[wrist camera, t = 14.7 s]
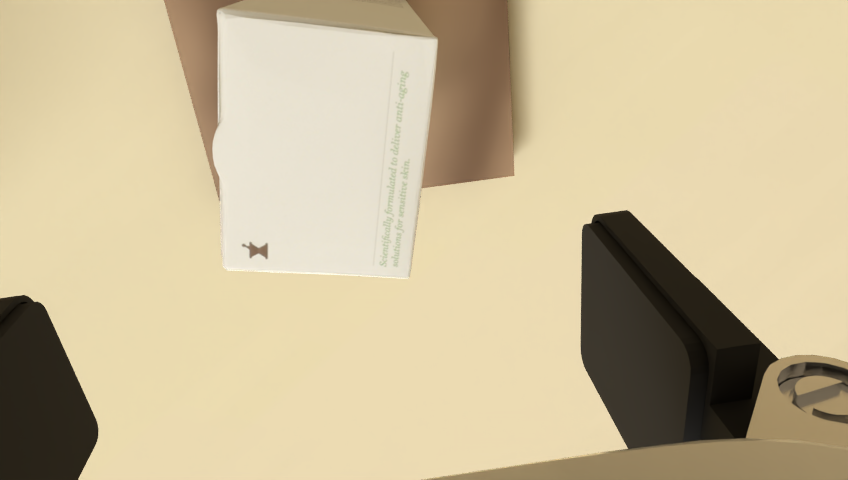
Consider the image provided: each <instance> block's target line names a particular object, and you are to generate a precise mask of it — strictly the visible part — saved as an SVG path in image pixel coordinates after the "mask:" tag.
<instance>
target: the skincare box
mask: <svg viewBox="0 0 848 480" xmlns="http://www.w3.org/2000/svg"><path fill="white" fill-rule="evenodd" d="M217 23H218V127H217V129H216V132H215V135H214V139H213V146H212V152H213V161H214V166H215V168H216V171H217V173H218V175H219V183H220V225H221V255H222V261H223V267H224V268H225V269H226V270H236V271H257V272H279V273H305V274H332V275H352V276H367V277H386V278H404V279H408V278H409V277H410V272H411V265H412V257H413V250H414V243H415V235H416V228H417V220H418V212H419V205H420V197H421V189H422V181H423V173H424V165H425V157H426V149H427V140H428V133H429V125H430V117H431V108H432V99H433V90H434V81H435V72H436V62H437V49H438V38H437V37H435V36H434V35H433V34H432V33H431V31H430V30H429V29H428V28H427V26H426V25H425V24H424V23H423V22H422V20H421V19H420V18H419V16H418V15H417V14H416V13H415V12H414V10H413V9H412V8H411V6H410V5H409V4H408V3H407V1H406V0H243V1H240V2H237V3H234V4H231V5H228V6H226V7H222V8H219V9H218V10H217Z"/></svg>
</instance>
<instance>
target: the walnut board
mask: <svg viewBox="0 0 848 480" xmlns="http://www.w3.org/2000/svg"><path fill="white" fill-rule="evenodd" d="M240 1H243V0H164V2H165V5H166V9H167V13H168V16H169V20H170V23H171V27H172V31H173V34H174V38H175V42H176V45H177V49H178V52H179V56H180V60H181V63H182V67H183V71H184V74H185V78H186V81H187V85H188V89H189V92H190V96H191V99H192V103H193V107H194V110H195V114H196V118H197V121H198V125H199V128H200V132H201V136H202V139H203V143H204V147H205V150H206V154H207V157H208V161H209V165H210V168H211V172H212V176H213V179H214V183H215V186H216V190H217V194H218V197H219V201H220V183H219V175H218V173H217V171H216V168H215V166H214V161H213V152H212V146H213V139H214V135H215V132H216V129H217V127H218V23H217V10H218V9H219V8H222V7H226V6H228V5H231V4H234V3H237V2H240ZM406 1H407V3H408V4H409V5H410V6H411V8H412V9H413V10H414V12H415V13H416V14H417V15H418V16H419V18H420V19H421V20H422V22H423V23H424V24H425V25H426V26H427V28H428V29H429V30H430V31H431V33H432V34H433V35H434V36H435V37H437V38H438V49H437V62H436V72H435V81H434V90H433V99H432V108H431V117H430V125H429V133H428V140H427V149H426V157H425V165H424V173H423V181H422V188H427V187H434V186H442V185H449V184H456V183H464V182H471V181H479V180H486V179H493V178H501V177H508V176H514V155H513V131H512V106H511V81H510V57H509V32H508V8H507V0H406Z"/></svg>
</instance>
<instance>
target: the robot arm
mask: <svg viewBox="0 0 848 480" xmlns="http://www.w3.org/2000/svg"><path fill="white" fill-rule="evenodd" d="M581 355H582V360H583V364H584V367H585V369H586V371H587V373H588V375H589V376H590V378H591V380H592V382H593V384H594V386H595V388H596V390H597V391H598V393H599V395H600V397H601V399H602V401H603V403H604V404H605V406H606V408H607V410H608V412H609V414H610V416H611V418H612V419H613V421H614V423H615V425H616V427H617V429H618V431H619V432H620V434H621V436H622V438H623V440H624V442H625V444H626V445H627V447H628V449H624V450H616V451H608V452H601V453H594V454H588V455H581V456H575V457H568V458H561V459H555V460H548V461H542V462H535V463H528V464H522V465H515V466H509V467H502V468H495V469H489V470H482V471H476V472H469V473H462V474H456V475H449V476H443V477H436V478H429V479H423V480H848V362H845V361H841V360H838V359H835V358H830V357H823V356H817V355H795V356H790V357H786V358H781V359H778V358H777V357H776V356H775V355H774V354H773V353H772V352H771V351H770V350H769V349H768V348H767V347H766V346H765V345H764V344H763V343H762V342H761V341H760V340H759V339H758V338H757V337H756V336H755V335H754V334H753V333H752V332H751V331H750V330H749V329H748V328H747V327H746V326H745V325H744V324H743V323H742V322H741V321H740V320H739V319H738V318H737V317H736V316H735V315H734V314H733V313H732V312H731V311H730V310H729V309H728V308H727V307H726V306H725V305H724V304H723V303H722V302H721V301H720V300H719V299H718V298H717V297H716V296H715V295H714V294H713V293H712V292H711V291H710V290H709V289H708V288H707V287H706V286H705V285H704V284H703V283H702V282H701V281H700V280H699V279H697V278H696V277H695V276H694V275H693V274H692V273H691V272H690V271H689V270H688V269H687V268H686V267H685V266H684V265H683V264H682V263H681V262H680V261H679V260H678V259H677V258H676V257H675V256H674V255H673V254H672V253H671V252H670V251H669V250H668V249H667V248H666V247H665V246H664V245H663V244H662V243H661V242H660V241H659V240H658V239H657V238H656V237H655V236H654V235H653V234H652V233H651V232H650V231H649V230H648V229H647V228H645V227H644V226H643V225H642V224H641V223H640V222H639V221H638V220H637V219H636V218H635V217H634V216H633V215H632V214H631V213H630V212H629V211H627V210H626V211H619V212H611V213H604V214H597V215H594V217H593V219H592V223H591V224H585V225H584V226H583V229H582V284H581ZM97 439H98V424H97V421H96V419H95V416H94V414H93V412H92V410H91V408H90V405H89V403H88V401H87V399H86V397H85V394H84V392H83V390H82V388H81V386H80V383H79V381H78V379H77V377H76V375H75V372H74V370H73V368H72V366H71V364H70V361H69V359H68V357H67V355H66V353H65V350H64V348H63V346H62V344H61V342H60V339H59V337H58V335H57V333H56V331H55V328H54V326H53V324H52V322H51V319H50V317H49V315H48V313H47V311H46V309H45V307H44V306H43V305H42V304H41V303H39V302H34V301H33V300H32V299H31V298H29V297H28V296H25V295H22V296H14V297H7V298H0V480H78V478H79V476H80V474H81V472H82V470H83V468H84V466H85V464H86V462H87V460H88V458H89V457H90V455H91V453H92V451H93V449H94V447H95V445H96V442H97Z"/></svg>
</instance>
